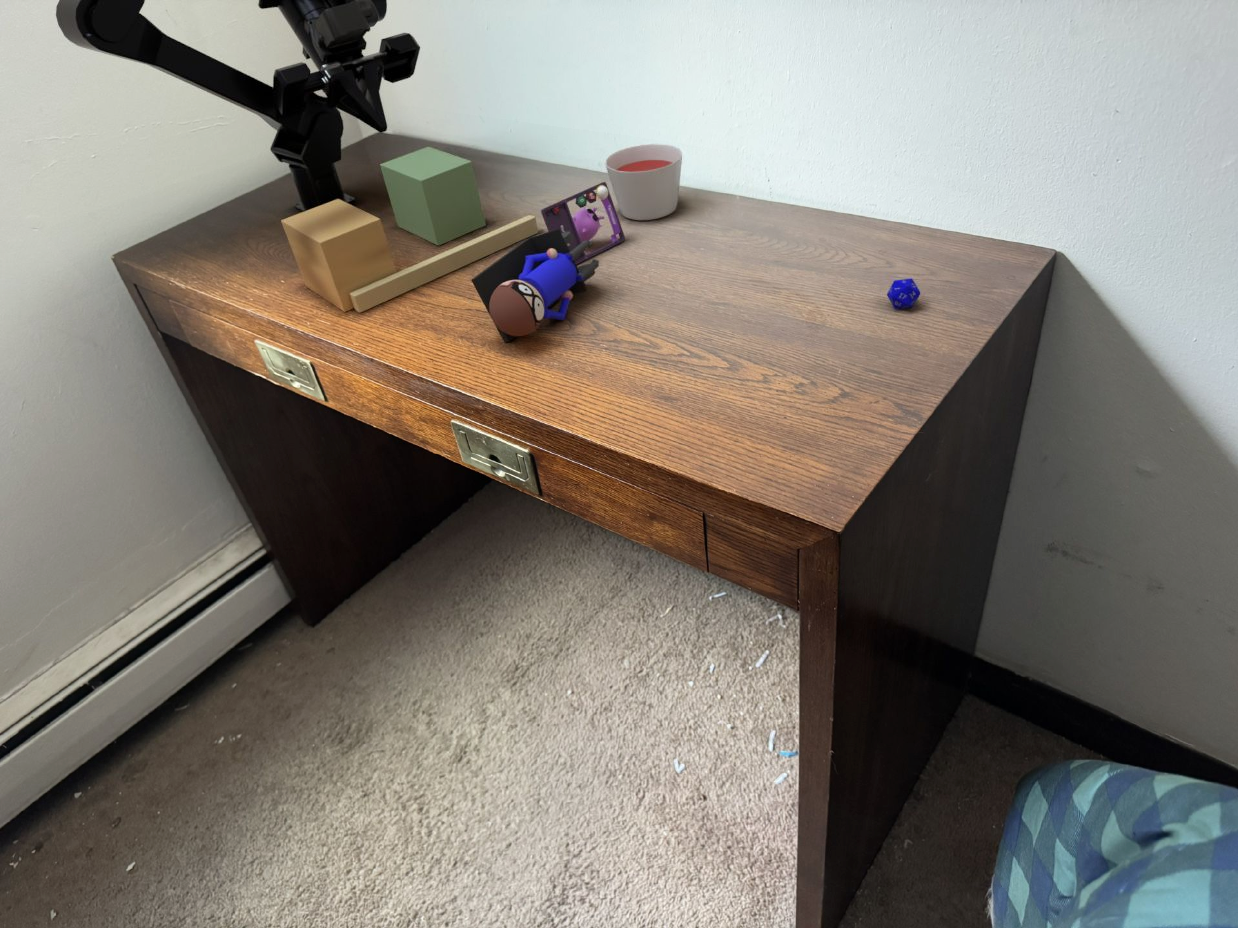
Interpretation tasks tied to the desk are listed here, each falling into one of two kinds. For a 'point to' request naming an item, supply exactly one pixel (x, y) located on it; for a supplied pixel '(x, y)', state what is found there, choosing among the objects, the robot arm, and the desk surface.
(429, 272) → the straightedge
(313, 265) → the maple block
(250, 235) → the desk surface
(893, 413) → the desk surface
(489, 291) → the character figurine
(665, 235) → the desk surface
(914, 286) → the die
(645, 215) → the candle
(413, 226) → the green block
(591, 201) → the game card
